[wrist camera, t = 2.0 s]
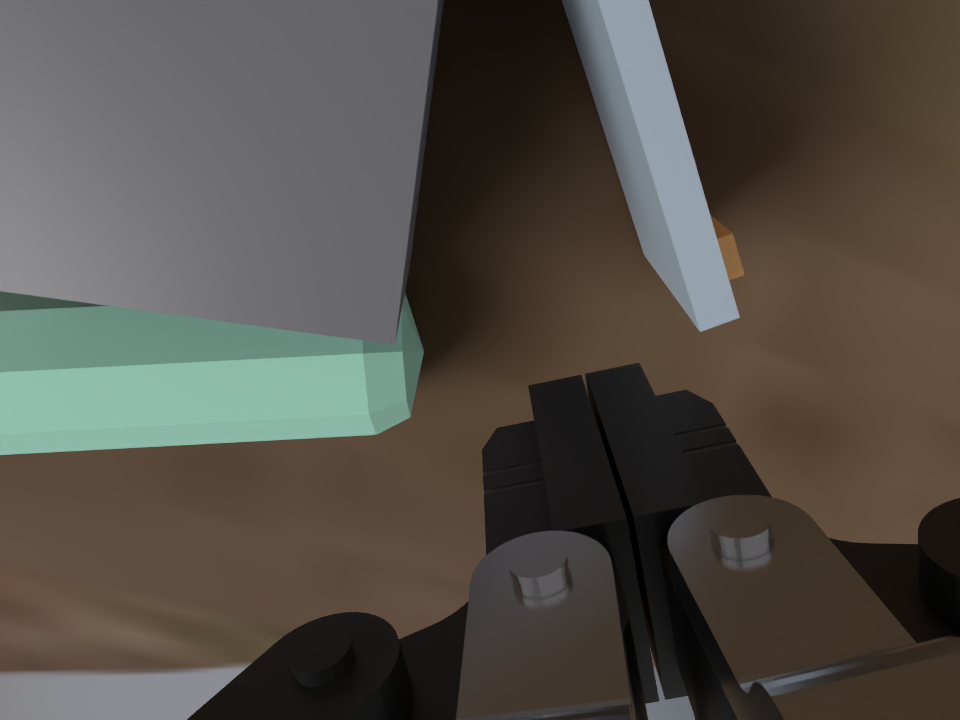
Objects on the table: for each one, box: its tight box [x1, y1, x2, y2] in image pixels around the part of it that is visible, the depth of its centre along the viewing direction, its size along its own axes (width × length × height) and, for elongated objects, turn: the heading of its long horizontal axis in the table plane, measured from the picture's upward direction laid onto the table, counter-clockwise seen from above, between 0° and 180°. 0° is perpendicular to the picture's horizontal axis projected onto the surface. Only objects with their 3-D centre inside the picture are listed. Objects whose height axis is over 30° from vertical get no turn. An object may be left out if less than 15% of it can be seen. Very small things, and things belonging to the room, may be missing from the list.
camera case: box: [0, 0, 444, 345], centre depth 21 cm, size 14×10×8 cm
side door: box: [562, 0, 744, 332], centre depth 22 cm, size 14×2×7 cm, turn 21°
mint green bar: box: [0, 292, 424, 455], centre depth 26 cm, size 6×6×25 cm
